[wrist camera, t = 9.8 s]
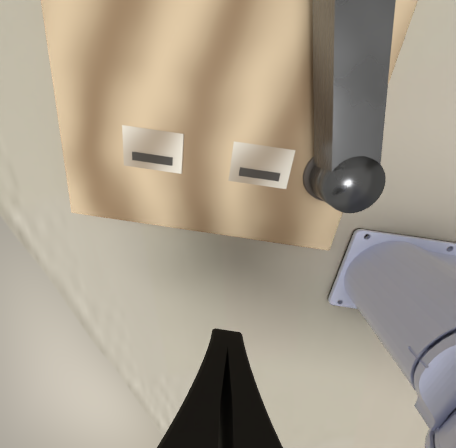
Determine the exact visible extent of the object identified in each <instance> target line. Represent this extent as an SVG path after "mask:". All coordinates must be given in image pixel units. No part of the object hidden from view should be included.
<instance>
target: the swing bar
mask: <svg viewBox="0 0 456 448" xmlns="http://www.w3.org/2000/svg"><path fill="white" fill-rule="evenodd" d="M395 2H396V0H312V14H313V95H314V167H313V169H312V171H311V174H310V179H309V182H310V187H311V190H312V191H313V193H314V194H315V195H316V196H317V197H319V198H320V199H322V200H323V201H325V202H326V203H327V204H329V205H330V206H332V207H333V208H335V209H336V210H338V211H340V212H344V213H355V212H359V211H362V210H364V209H366V208H368V207H370V206H371V205H372V204H373V203H375V201H376V200H377V199H378V198H379V197H380V195H381V193H382V191H383V189H384V186H385V173H384V170H383V168H382V166H381V165H380V162H381V151H382V140H383V130H384V119H385V108H386V98H387V87H388V77H389V66H390V55H391V45H392V34H393V23H394V13H395Z"/></svg>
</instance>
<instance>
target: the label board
mask: <svg viewBox="0 0 456 448" xmlns="http://www.w3.org/2000/svg"><path fill="white" fill-rule="evenodd" d="M417 1H418V0H396V2H395V13H394V23H393V34H392V45H391V55H390V66H389V77H388V83H389V80H390V78H391V75H392V72H393V69H394V66H395V63H396V61H397V58H398V55H399V52H400V49H401V46H402V44H403V41H404V38H405V35H406V32H407V29H408V27H409V24H410V21H411V18H412V15H413V13H414V10H415V7H416V4H417ZM41 5H42V11H43V18H44V25H45V32H46V39H47V46H48V53H49V60H50V67H51V74H52V80H53V87H54V94H55V101H56V108H57V115H58V122H59V129H60V136H61V143H62V150H63V156H64V163H65V170H66V177H67V184H68V191H69V198H70V205H71V212H72V213H78V214H85V215H92V216H98V217H105V218H112V219H119V220H125V221H132V222H139V223H146V224H152V225H159V226H166V227H173V228H180V229H186V230H193V231H200V232H207V233H213V234H220V235H227V236H234V237H241V238H247V239H254V240H261V241H268V242H274V243H281V244H288V245H295V246H301V247H308V248H315V249H322V250H330V247H331V244H332V241H333V239H334V236H335V233H336V230H337V227H338V225H339V222H340V219H341V216H342V213H343V212H340V211H338V210H336V209H335V208H333V207H332V206H330V205H329V204H327V203H326V202H325V201H323V200H322V199H320V198H319V197H317V196H316V195H315V194H314V193H313V191H312V190H311V187H310V182H309V179H310V174H311V171H312V169H313V167H314V95H313V14H312V0H41Z"/></svg>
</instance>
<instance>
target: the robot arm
mask: <svg viewBox="0 0 456 448" xmlns="http://www.w3.org/2000/svg"><path fill="white" fill-rule="evenodd" d="M366 234H368V236H367V237H365V238H364V236H365V235H366ZM447 248H448V249H447ZM338 300H340V301H338ZM328 301H329V303H330V304H331V305H336V306H343V307H349V308H356V309H358V310H359V311H360V313H361V314H362V315H363V317H364V318H365V320H366V321H367V323H368V324H369V325H370V327H371V328H372V330H373V331H374V332H375V334H376V335H377V337H378V338H379V340H380V341H381V342H382V344H383V345H384V347H385V348H386V350H387V351H388V352H389V354H390V355H391V357H392V358H393V360H394V361H395V362H396V364H397V365H398V367H399V368H400V369H401V371H402V372H403V374H404V375H405V377H406V378H407V379H408V381H409V382H410V384H411V385H412V387H413V388H414V389H415V390H416V392H417V395H418V399H417V401H416V403H415V405H414V406H415V407H416V409H417V410H418V412H419V413H420V415H421V416H422V418H423V419H424V421H425V422H426V424H427V426H428V427H429V430H428V433H427V435H426V439H425V448H456V243H453V242H447V241H440V240H433V239H426V238H419V237H413V236H406V235H399V234H392V233H385V232H379V231H372V230H365V229H358V230H356V231H355V232H354V233H353V236H352V238H351V241H350V244H349V246H348V249H347V251H346V254H345V256H344V259H343V262H342V264H341V267H340V269H339V272H338V275H337V277H336V280H335V282H334V285H333V287H332V290H331V293H330V295H329V298H328ZM157 448H283V447H282V445H281V443H280V441H279V439H278V436H277V434H276V432H275V430H274V428H273V425H272V423H271V421H270V418H269V416H268V414H267V411H266V409H265V406H264V404H263V401H262V399H261V396H260V393H259V391H258V388H257V385H256V382H255V379H254V376H253V374H252V371H251V367H250V364H249V361H248V357H247V354H246V350H245V346H244V342H243V337H242V334H241V333H240V332H234V331H228V330H221V329H213V330H212V335H211V339H210V343H209V346H208V349H207V352H206V354H205V357H204V360H203V362H202V364H201V367H200V369H199V371H198V374H197V376H196V378H195V380H194V382H193V384H192V386H191V388H190V390H189V392H188V394H187V396H186V398H185V400H184V402H183V404H182V406H181V407H180V409H179V411H178V413H177V415H176V416H175V418H174V420H173V422H172V424H171V425H170V427H169V429H168V430H167V432H166V434H165V435H164V437H163V439H162V440H161V442H160V444H159V445H158V447H157Z"/></svg>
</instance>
